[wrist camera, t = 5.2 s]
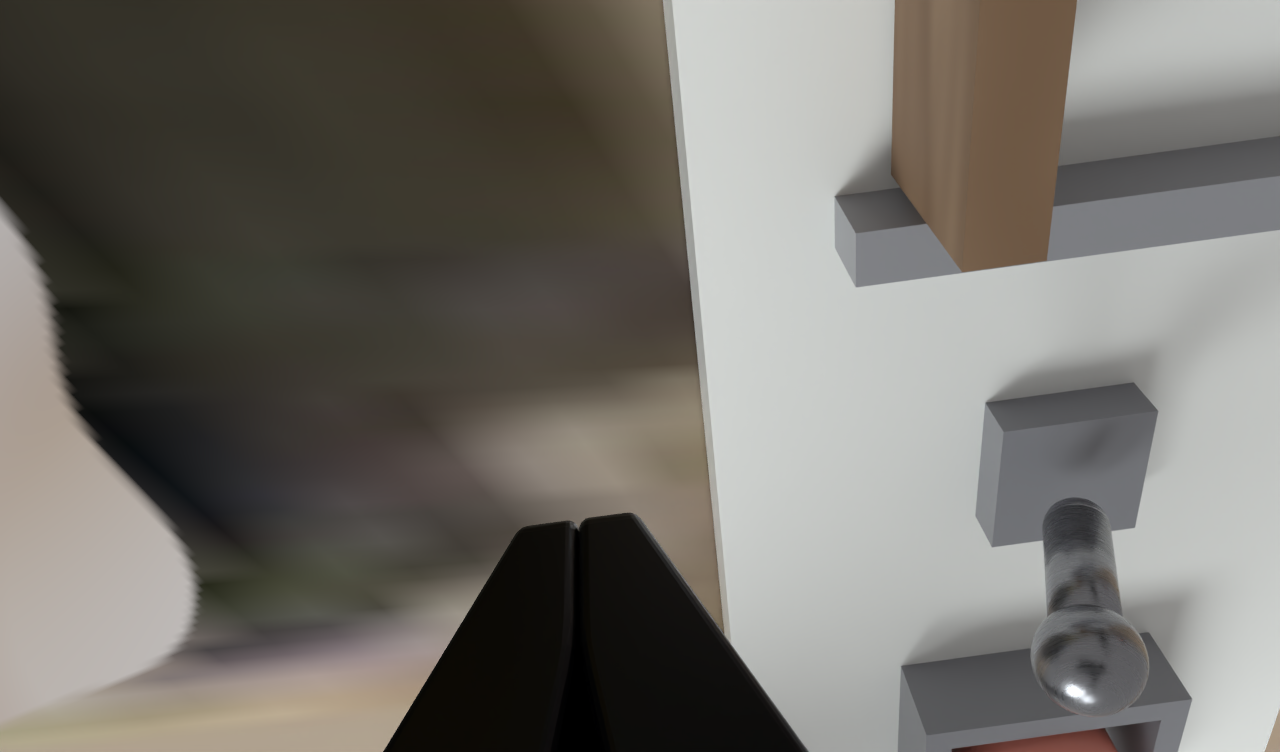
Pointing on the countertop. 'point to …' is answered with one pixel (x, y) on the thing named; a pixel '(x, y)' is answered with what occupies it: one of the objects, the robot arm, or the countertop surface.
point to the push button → (1052, 743)
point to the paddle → (981, 122)
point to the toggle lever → (1085, 617)
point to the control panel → (987, 377)
